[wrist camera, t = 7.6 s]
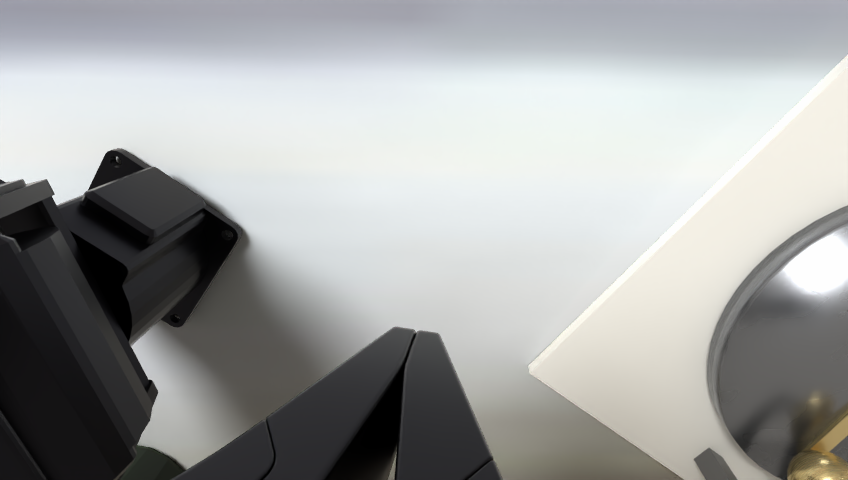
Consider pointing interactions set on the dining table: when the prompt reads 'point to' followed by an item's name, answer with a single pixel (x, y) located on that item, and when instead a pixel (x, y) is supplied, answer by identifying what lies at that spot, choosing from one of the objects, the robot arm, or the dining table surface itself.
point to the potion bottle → (151, 466)
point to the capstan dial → (789, 356)
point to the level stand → (700, 294)
